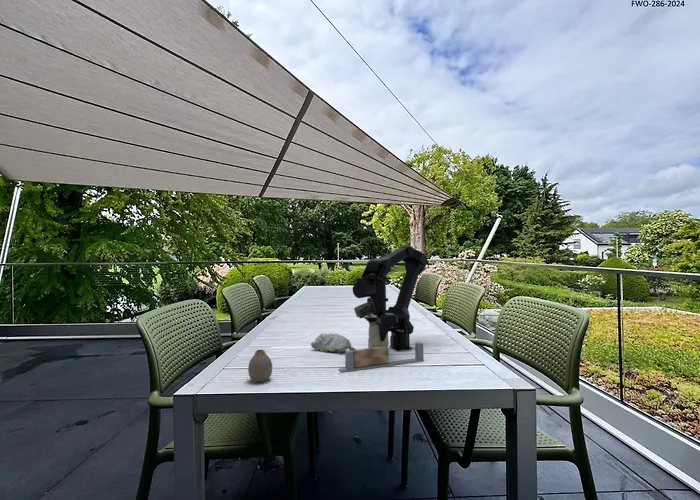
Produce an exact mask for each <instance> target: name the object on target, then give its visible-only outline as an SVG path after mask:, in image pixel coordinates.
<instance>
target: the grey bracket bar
mask: <svg viewBox="0 0 700 500" xmlns="http://www.w3.org/2000/svg"><path fill="white" fill-rule="evenodd" d="M344 353H345V355H344V356H345V362H344V363H345V365H344V366H345V367H341V368H338V372H339V373H341V374H342V373H343V374H344V373H351V372H356V371H364V370H365V371H366V370H370V369H371V370H372V369H379V368H385V367H386V368H387V367H394V366H400V365H407V364H413V363H421V362H425V361H424V343H423V342H422V341H416V342H415V343H414V356H415V357H413V358H408V359H399V360H392V361H389V363H383V364H375V365H368V366H361V367H354V355H353V351H352V350H349V349H347V350H346V351H344Z"/></svg>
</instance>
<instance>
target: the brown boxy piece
mask: <svg viewBox="0 0 700 500" xmlns="http://www.w3.org/2000/svg"><path fill="white" fill-rule="evenodd" d="M348 350H352V351H353V355H354V367H361V366H368V365H375V364H383V363H389V362H390V361H389V359H390V357H389V346H388V347H387V346H383V347H375V348H361V349H359V348H358V349H357V348H354V347H353V346H351V347H350V348H349V349H348Z"/></svg>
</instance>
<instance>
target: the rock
mask: <svg viewBox="0 0 700 500" xmlns="http://www.w3.org/2000/svg"><path fill="white" fill-rule="evenodd" d="M310 345H311V348H313V349H314V350H318V349H319V350H320V351H321V352H327V353H328V352H337V353H339V354H340V353H345V351H348V350H349V348H350V347H352V343H351V341H350V339H348V338H346V336H343V335H341V334H338V333H331V332H330V333H325V332H324V333H320V334H319V335H318V336H317V337H316V338H315V339H314V341H311V343H310Z"/></svg>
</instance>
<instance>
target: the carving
mask: <svg viewBox="0 0 700 500" xmlns="http://www.w3.org/2000/svg"><path fill="white" fill-rule="evenodd" d="M375 322H377V321H375ZM375 322H371V323H370V325H369V326H368V339H367V347H368V348H375V347H383V346H387V347H388V348H389V343H390V340H389V332H388V333H387V335H386V338H385V340H384V341H382V342H381V340H380V334H379V327H378V325H377V324H376V323H375Z"/></svg>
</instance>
